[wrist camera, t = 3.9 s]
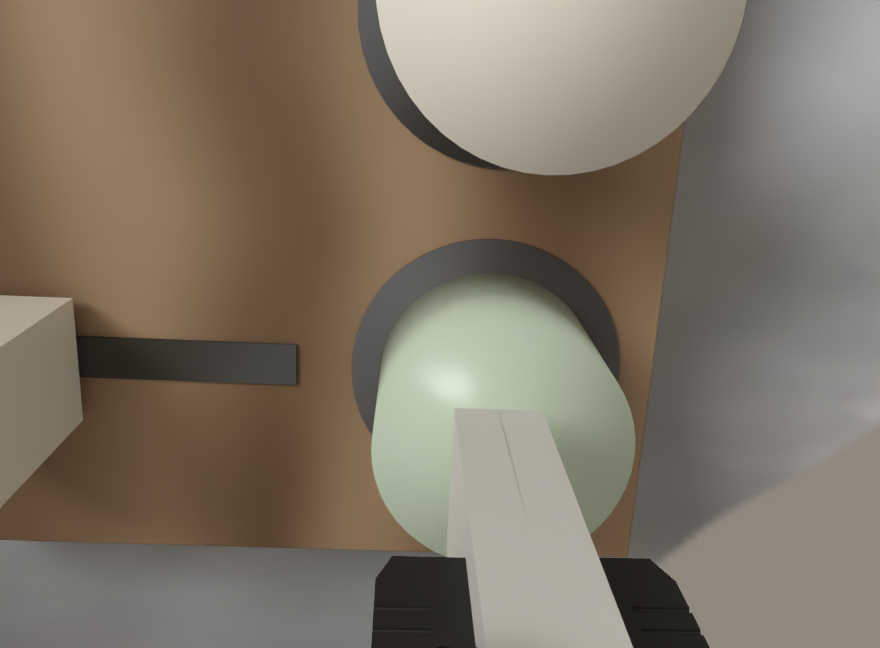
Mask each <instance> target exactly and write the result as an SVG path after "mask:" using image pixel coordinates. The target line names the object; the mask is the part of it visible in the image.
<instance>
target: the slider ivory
mask: <svg viewBox="0 0 880 648" xmlns="http://www.w3.org/2000/svg"><path fill="white" fill-rule="evenodd" d="M82 421H83V413H82V401H81V389H80V378H79V366H78V355H77V343H76V331H75V320H74V308H73V298H59V297H33V296H7V295H0V508H1V507H2V506H3V505H4V503H5V502H6V501H7V500H8V499H9V498H10V497H11V496H12V495H13V494H14V493H15V492H16V491H17V490H18V489H19V488H20V486H21V485H22V484H23V483H24V482H25V481H26V480H27V479H28V478H29V477H30V476H31V475H32V474H33V473H34V472H35V471H36V469H37V468H38V467H39V466H40V465H41V464H42V463H43V462H44V461H45V460H46V459H47V458H48V457H49V456H50V455H51V454H52V452H53V451H54V450H55V449H56V448H57V447H58V446H59V445H60V444H61V443H62V442H63V441H64V440H65V439H66V438H67V437H68V436H69V434H70V433H71V432H72V431H73V430H74V429H75V428H76V427H77V426H78V425H79V424H80V423H81V422H82Z"/></svg>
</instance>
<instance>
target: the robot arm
mask: <svg viewBox="0 0 880 648" xmlns="http://www.w3.org/2000/svg"><path fill="white" fill-rule="evenodd" d="M446 550H447V557H407V556H392V557H391V559H390V560H389V561H388V563H387V564H386V565H385V567H384V568H383V569H382V571H381V572H380V574H379V575H378V576H377V578H376V582H375V598H374V614H373V632H372V646H371V648H709V646H708V644H707V642H706V640H705V638H704V636H703V635H701V634H700V628H699V626H698V624H697V622H696V620H695V618H694V616H693V614H692V613H689V607H688V605H687V603H686V601H685V599H684V597H683V595H682V593H681V591H680V589H679V587H678V585H677V583H676V581H674V580H673V579H672V578H671V577H670V576H669V575H667V574H666V573H665V572H664V571H663V570H662V569H660V568H659V567H658V566H657V565H656V564H655V563H654V562H652V561H651V560H650V559H634V558H599V557H598V554H597V552H596V549H595V547H594V544H593V541H592V539H591V536H590V534H589V531H588V528H587V526H586V523H585V521H584V518H583V515H582V513H581V510H580V507H579V505H578V502H577V500H576V497H575V494H574V492H573V489H572V487H571V484H570V481H569V479H568V476H567V474H566V471H565V468H564V466H563V463H562V460H561V458H560V455H559V453H558V450H557V447H556V445H555V442H554V440H553V437H552V434H551V432H550V429H549V427H548V424H547V421H546V419H545V416H544V414H543V411H535V410H501V409H467V408H454V425H453V443H452V460H451V478H450V495H449V513H448V530H447V548H446Z"/></svg>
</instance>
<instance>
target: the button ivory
mask: <svg viewBox="0 0 880 648" xmlns="http://www.w3.org/2000/svg"><path fill="white" fill-rule="evenodd" d="M746 2H747V0H376V5H377V12H378V18H379V24H380V29H381V33H382V36H383V40H384V43H385V47H386V50H387V53H388V56H389V58H390V60H391V63H392V65H393V67H394V70H395V72H396V74H397V76H398V78H399V80H400V81H401V83H402V85H403V87H404V88H405V90H406V92H407V93H408V95H409V97H410V98H411V99H412V101H413V102H414V103H415V105H416V106H417V107H418V108H419V110H420V111H421V112H422V114H423V115H424V116H425V117H426V118H427V119H428V120H429V121H430V122H431V123H432V124H433V125H434V126H435V127H436V128H437V129H438V130H439V131H440V132H441V133H442V134H443V135H445V136H446V137H447V138H449V139H450V140H451V141H453V142H454V143H455V144H457V145H458V146H459V147H461V148H463V149H464V150H466V151H468V152H470V153H471V154H473V155H475V156H477V157H479V158H480V159H483V160H485V161H488V162H490V163H493V164H495V165H498V166H500V167H503V168H507V169H511V170H515V171H519V172H523V173H530V174H539V175H572V174H579V173H585V172H592V171H596V170H599V169H603V168H606V167H609V166H613V165H616V164H618V163H621V162H623V161H625V160H627V159H630V158H632V157H634V156H637V155H638V154H640V153H642V152H643V151H645V150H647V149H649V148H650V147H652V146H654V145H655V144H657V143H658V142H660V141H661V140H662V139H664V138H665V137H666V136H667V135H669V134H670V133H671V132H673V131H674V130H675V129H677V128H678V127H679V126H680V125H681V124H682V123H683V122H684V121H685V120H686V119H687V118H688V117H689V116H690V115H691V114H692V113H693V112H694V111H695V110H696V108H697V107H698V106H699V105H700V103H701V102H702V101H703V100H704V98H705V97H706V96H707V95H708V93H709V92H710V91H711V89H712V87H713V86H714V84H715V82H716V81H717V79H718V78H719V76H720V74H721V73H722V71H723V69H724V67H725V65H726V63H727V61H728V59H729V57H730V55H731V52H732V50H733V48H734V46H735V43H736V40H737V37H738V34H739V31H740V28H741V25H742V22H743V17H744V12H745V7H746Z"/></svg>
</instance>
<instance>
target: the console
mask: <svg viewBox="0 0 880 648" xmlns="http://www.w3.org/2000/svg"><path fill="white" fill-rule="evenodd" d="M683 128H684V122H683V123H682V124H681V125H680V126H679V127H678V128H677V129H675V130H674V131H673V132H671V133H670V134H669V135H667V136H666V137H665V138H664V139H662V140H661V141H660V142H658V143H657V144H655V145H654V146H652V147H650V148H649V149H647V150H645V151H643V152H642V153H640V154H638V155H637V156H634V157H632V158H630V159H627V160H625V161H623V162H621V163H618V164H616V165H613V166H609V167H606V168H603V169H599V170H596V171H592V172H585V173H579V174H572V175H539V174H530V173H523V172H519V171H515V170H511V169H507V168H503V167H500V166H498V165H495V164H493V163H490V162H488V161H485V160H483V159H480V158H479V157H477V156H475V155H473V154H471V153H470V152H468V151H466V150H464V149H463V148H461V147H459V146H458V145H457V144H455V143H454V142H453V141H451V140H450V139H449V138H447V137H446V136H445V135H443V134H442V133H441V132H440V131H439V130H438V129H437V128H436V127H435V126H434V125H433V124H432V123H431V122H430V121H429V120H428V119H427V118H426V117H425V116H424V115H423V114H422V112H421V111H420V110H419V108H418V107H417V106H416V105H415V103H414V102H413V101H412V99H411V98H410V97H409V95H408V93H407V92H406V90H405V88H404V87H403V85H402V83H401V81H400V80H399V78H398V76H397V74H396V72H395V70H394V67H393V65H392V63H391V60H390V58H389V56H388V53H387V50H386V47H385V43H384V40H383V36H382V33H381V29H380V24H379V18H378V12H377V5H376V0H0V295H7V296H33V297H59V298H73V308H74V320H75V331H76V343H77V355H78V366H79V378H80V389H81V401H82V413H83V421H82V422H81V423H80V424H79V425H78V426H77V427H76V428H75V429H74V430H73V431H72V432H71V433H70V434H69V436H68V437H67V438H66V439H65V440H64V441H63V442H62V443H61V444H60V445H59V446H58V447H57V448H56V449H55V450H54V451H53V452H52V454H51V455H50V456H49V457H48V458H47V459H46V460H45V461H44V462H43V463H42V464H41V465H40V466H39V467H38V468H37V469H36V471H35V472H34V473H33V474H32V475H31V476H30V477H29V478H28V479H27V480H26V481H25V482H24V483H23V484H22V485H21V486H20V488H19V489H18V490H17V491H16V492H15V493H14V494H13V495H12V496H11V497H10V498H9V499H8V500H7V501H6V502H5V503H4V505H3V506H2V507H1V508H0V540H25V541H62V542H98V543H134V544H170V545H206V546H243V547H279V548H315V549H351V550H387V551H423V552H434V551H432V550H431V549H429V548H428V547H426V546H424V545H423V544H421V543H420V542H418V541H417V540H416V539H415V538H413V537H412V536H411V535H410V534H409V533H407V532H406V531H405V530H404V529H403V527H402V526H401V525H400V524H399V523H398V522H397V521H396V520H395V518H394V517H393V515H392V514H391V513H390V511H389V510H388V508H387V507H386V505H385V503H384V501H383V499H382V497H381V495H380V493H379V490H378V487H377V484H376V481H375V478H374V472H373V467H372V457H371V444H372V434H373V425H374V417H375V409H376V401H377V393H378V385H379V377H380V369H381V361H382V356H383V352H384V348H385V345H386V342H387V340H388V337H389V335H390V333H391V331H392V329H393V327H394V326H395V324H396V322H397V321H398V320H399V318H400V317H401V316H402V314H403V313H404V312H405V310H406V309H407V308H408V307H409V306H410V305H411V304H412V303H413V302H414V301H416V300H417V299H418V298H419V297H421V296H422V295H423V294H425V293H426V292H427V291H429V290H431V289H433V288H434V287H436V286H438V285H440V284H442V283H444V282H447V281H449V280H452V279H455V278H459V277H462V276H466V275H472V274H479V273H498V274H508V275H512V276H517V277H521V278H524V279H527V280H529V281H532V282H535V283H537V284H539V285H540V286H542V287H544V288H546V289H548V290H549V291H551V292H552V293H553V294H555V295H556V296H557V297H559V298H560V299H561V300H562V301H563V302H564V303H565V304H566V305H567V306H568V307H569V308H570V309H571V311H572V312H573V313H574V314H575V316H576V317H577V318H578V320H579V322H580V323H581V325H582V326H583V328H584V330H585V331H586V333H587V334H588V336H589V338H590V339H591V341H592V342H593V344H594V346H595V347H596V349H597V350H598V352H599V354H600V355H601V357H602V358H603V360H604V362H605V363H606V365H607V366H608V368H609V370H610V371H611V373H612V374H613V376H614V378H615V379H616V381H617V383H618V384H619V386H620V388H621V389H622V391H623V393H624V395H625V397H626V400H627V402H628V405H629V407H630V410H631V414H632V418H633V422H634V429H635V457H634V462H633V467H632V472H631V475H630V478H629V481H628V484H627V486H626V489H625V490H624V492H623V494H622V496H621V498H620V500H619V502H618V503H617V505H616V506H615V508H614V509H613V511H612V512H611V514H610V515H609V516H608V517H607V518H606V519H605V521H604V522H603V523H602V524H601V525H600V526H599V527H598V528H597V529H596V530H595V531H594V532H592V533H591V534H590V536H591V539H592V541H593V544H594V547H595V549H596V552H597V554H598V556H604V557H628V549H629V542H630V534H631V526H632V519H633V511H634V503H635V496H636V488H637V480H638V473H639V465H640V457H641V450H642V442H643V434H644V427H645V419H646V411H647V404H648V396H649V388H650V381H651V373H652V365H653V358H654V350H655V342H656V335H657V327H658V319H659V312H660V304H661V296H662V289H663V281H664V273H665V266H666V258H667V250H668V243H669V235H670V227H671V220H672V212H673V204H674V197H675V189H676V181H677V174H678V166H679V158H680V151H681V143H682V135H683Z"/></svg>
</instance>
